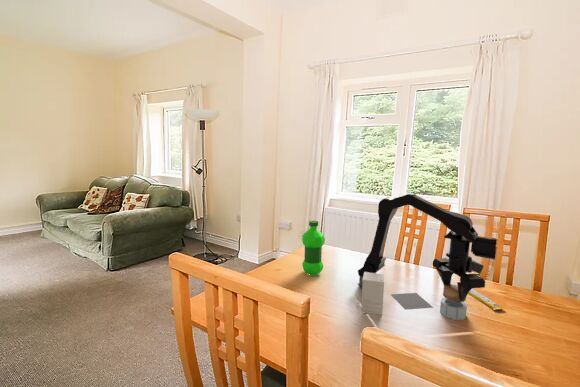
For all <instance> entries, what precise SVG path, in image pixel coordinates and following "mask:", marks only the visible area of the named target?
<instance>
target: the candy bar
mask: <svg viewBox="0 0 580 387" xmlns="http://www.w3.org/2000/svg"><path fill="white" fill-rule="evenodd" d="M468 295H469V296H472V297H473V298H474V299H475V300H477V301H479V302H480V303H481V304H483V305H485V306H487V307H488V308H489V309H491V310H494V311H496V310H497V311H498V310H506V309H504V308H503V307H502V306H501V305H499V304H497V303H496V302H495V301H492V300H491V299H489V298H487V297H486V296H485V295H482V294H481V293H480V292H478V291H476V290H474V288H472V289H471V290H470V291H469V293H468Z"/></svg>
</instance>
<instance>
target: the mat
mask: <svg viewBox="0 0 580 387" xmlns="http://www.w3.org/2000/svg"><path fill="white" fill-rule="evenodd" d="M390 295H391V297H393V299H394V300H395V301H396V302H397V303H398V304H399V305H400V306H401V307H402V308H403V309H404V310H417V309H430V308H434V306H432V305H431V304H430V303H429V302H428V301H427V300H426V299H424V298H423V297H422V296H420V294H418V293H417V292H409V293H391V294H390Z"/></svg>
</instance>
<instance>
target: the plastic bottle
mask: <svg viewBox="0 0 580 387" xmlns="http://www.w3.org/2000/svg"><path fill="white" fill-rule="evenodd" d="M308 226H309V229H308V230H306V231H305V232H303V233H302V236H301V241H302V244H303V245H304V259H303V261H302V265H301V266H302V269H303V271H304V272H305V273H306V274H307V273H308V274H310V275H309V276H312V275H315V276H317V275H319V274H320V273H321V272H322V271H323V269H324V264H323V262H322V251H323V250H322V246H324V244H325V241H326V239H325V235H324V233H322V232H321V231H320V230H319V229H318V226H319V221H318V220H309V221H308ZM308 274H307V275H308Z"/></svg>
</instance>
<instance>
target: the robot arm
mask: <svg viewBox="0 0 580 387" xmlns="http://www.w3.org/2000/svg"><path fill="white" fill-rule="evenodd" d="M405 206H411V207H412V208H415V209H416V210H418V211H420V212H422V213H424V214H425V215H427V216H430V217H431V218H434V219H435V220H438V221H439V222H440V223H442V224H443V225H444V227H446V228H447V229H448V230H450V231H449V232H448V233H446V234H445V235H444V236H443V237H444V239H448V240H450V242H449V251H448V252H446V253H445V254H446V255H445V256H446V257H441V258H435V259H433V261H432V267H434V268H436V271H437V273H438V276H439V277H440V280H441V283H442V284H443V286H444V285H447V284H451V282H452V277H453V275H456V276H458V277H459V278H460V279H459V281H460V282H459V281H457V282H456V283H457V284H456V285H458V291H459V297H460V300H461V301H464V299H465V298H466V299H467V296H468V295H469V294H468V293H469V291H470V290H471V289H480V288H481V289H484V288H485V287H486V280H485V279H484V278H483V277H481V276H479V275H481V274H482V271H483V269H484V265H483V264H481V263H479V262H477V261H475V260H473V259H472V257H471V256H470V255H469V253H470V252H471V253H472V255H474V257H479V258H483V259H489V260H493V261H496V257H497V248H498V246H497V241H498V239H497V238H496V237H487V236H480V235H479V234H478V232H477V231H476V229H475V227H474V226H473V225H474V224H473V220H472V219H471V218H470V217H469V216H468V215H465V214H462V213H459V212H455V211H454V212H453V211H450V210H446V209H445V208H443V207H441V206H438V205H437V204H434V203H432V202H431V201H429V200H426V199H424V198H423V197H420V196H418V195H417V194H416V193H414V192H409V193H407V194H404V195H401V196H398V197H394V196H387V197H385V198H383V199H381V200H380V201H379V202H378V206H377V207H378V209H377V215H378V223H377V227H376V230H375V235H374V238H373V242H372V247H371V250H370V252H369V253H368V256H366V259H365V261H364V263H363V266H362V267H361V268H359V269H358V270H357V274H358V276H359V280H358V282H359V283H358V282H357V285H358V286H359V288H360V289H361V290H362V279H363V275H364V272H369V273H377V272H379V271H381V269H382V268H384V267H385V261H386V260H387V257H386V256H384V253H383V252H384V247H385V244H386V240H387V236H388V232H389V230H390V229H389V228H390V225H391V222H392V220H393V218H394V216H395V215H396V213H397V211H398V209H399V208H403V207H405ZM470 244H471V245H470ZM470 246H471V248H470ZM472 272H474V273H475V274H474V273H472ZM467 273H469V274H467ZM470 273H471V274H470ZM476 273H477V274H476ZM464 302H465V301H464Z"/></svg>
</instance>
